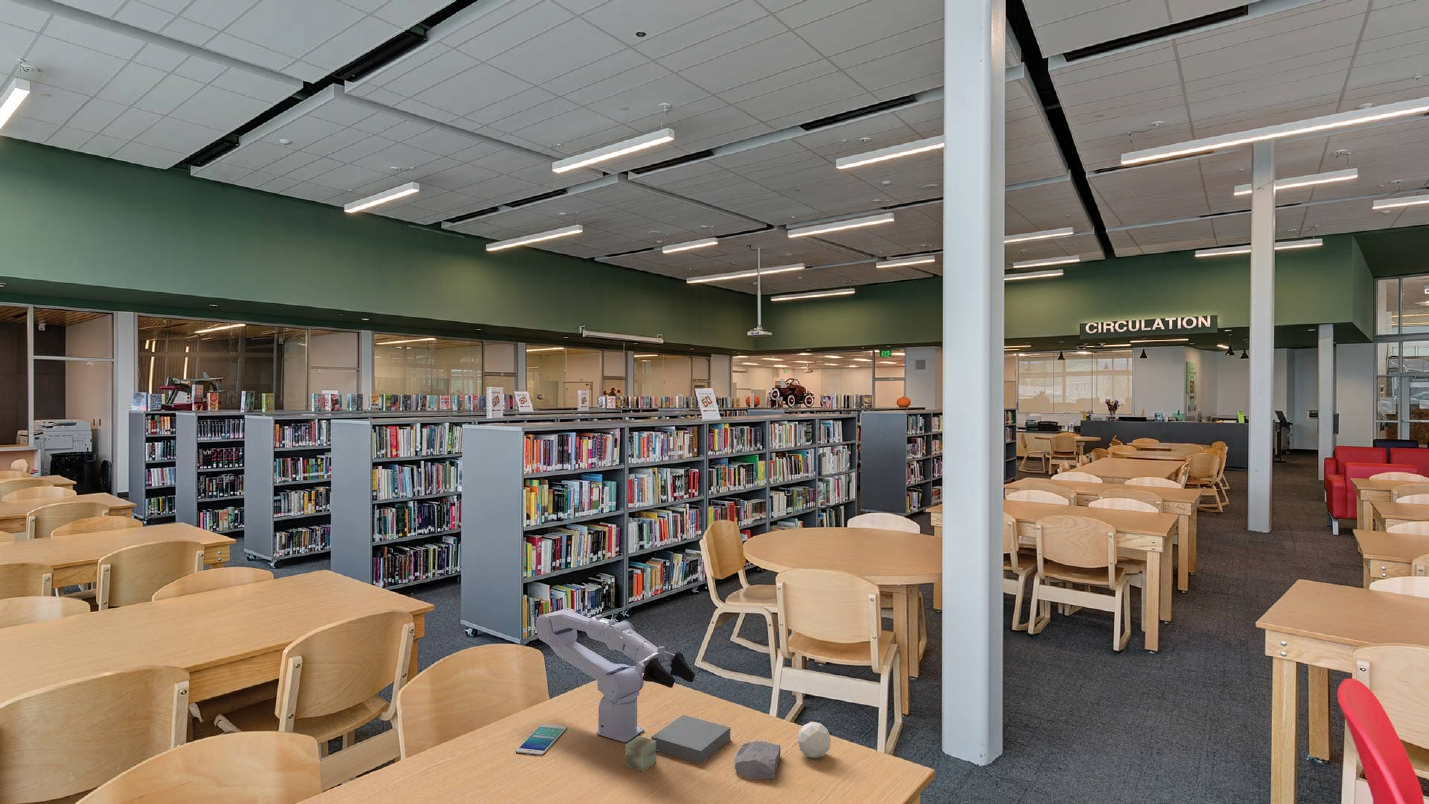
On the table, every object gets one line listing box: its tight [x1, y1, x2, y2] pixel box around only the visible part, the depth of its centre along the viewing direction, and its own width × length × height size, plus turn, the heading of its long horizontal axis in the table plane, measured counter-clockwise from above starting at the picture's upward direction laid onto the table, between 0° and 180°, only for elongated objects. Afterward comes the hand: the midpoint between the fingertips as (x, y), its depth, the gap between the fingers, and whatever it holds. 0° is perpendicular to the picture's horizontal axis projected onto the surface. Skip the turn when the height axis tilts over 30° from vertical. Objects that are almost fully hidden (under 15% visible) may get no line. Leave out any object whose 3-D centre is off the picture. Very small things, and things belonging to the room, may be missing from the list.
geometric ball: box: [797, 721, 832, 760], centre depth 167 cm, size 8×8×8 cm
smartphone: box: [515, 723, 568, 756], centre depth 175 cm, size 7×1×15 cm
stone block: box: [734, 740, 781, 781], centre depth 163 cm, size 12×5×10 cm
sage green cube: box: [625, 735, 657, 772], centre depth 163 cm, size 5×5×5 cm
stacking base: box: [650, 714, 731, 765], centre depth 173 cm, size 14×14×3 cm
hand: (683, 681), depth 166 cm, fingers open, 7 cm apart
